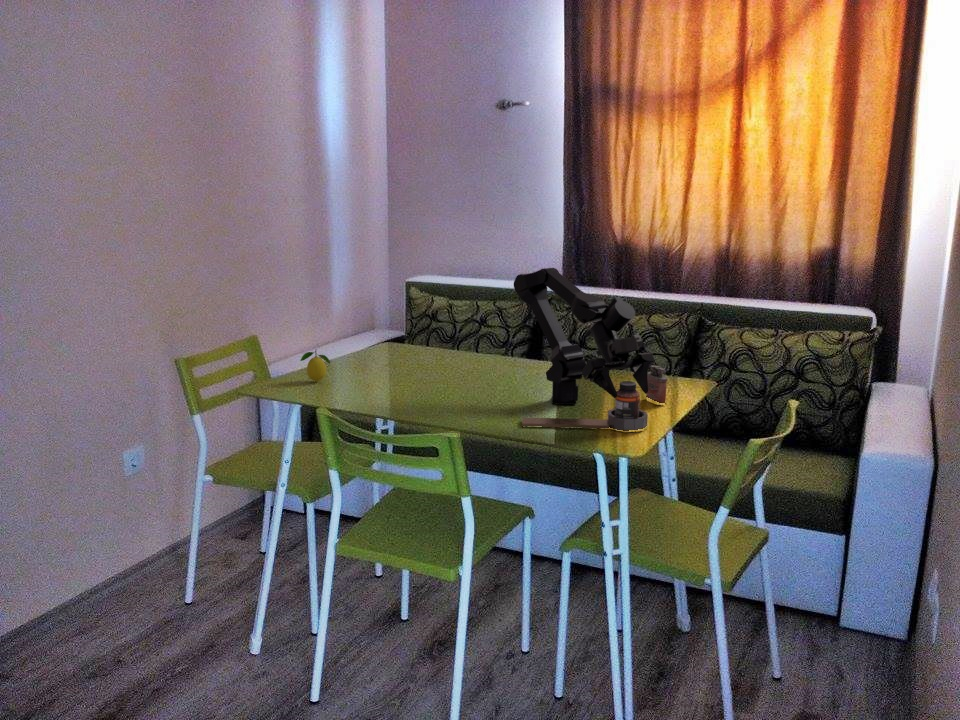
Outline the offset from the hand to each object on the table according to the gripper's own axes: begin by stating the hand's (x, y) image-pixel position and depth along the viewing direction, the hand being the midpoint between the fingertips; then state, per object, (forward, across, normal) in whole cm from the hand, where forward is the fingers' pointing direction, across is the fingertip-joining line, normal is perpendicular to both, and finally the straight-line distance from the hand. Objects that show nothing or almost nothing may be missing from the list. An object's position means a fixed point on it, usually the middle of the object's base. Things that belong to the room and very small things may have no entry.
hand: (631, 395), depth 226 cm
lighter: (-5, +20, +18) cm, 27 cm away
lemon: (-47, -57, +59) cm, 94 cm away
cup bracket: (+1, -9, +11) cm, 14 cm away
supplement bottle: (+5, 0, +7) cm, 9 cm away
